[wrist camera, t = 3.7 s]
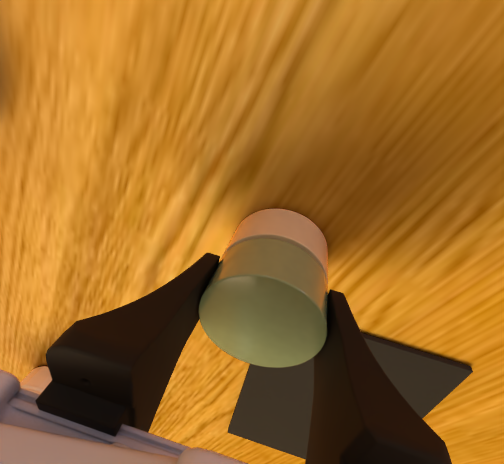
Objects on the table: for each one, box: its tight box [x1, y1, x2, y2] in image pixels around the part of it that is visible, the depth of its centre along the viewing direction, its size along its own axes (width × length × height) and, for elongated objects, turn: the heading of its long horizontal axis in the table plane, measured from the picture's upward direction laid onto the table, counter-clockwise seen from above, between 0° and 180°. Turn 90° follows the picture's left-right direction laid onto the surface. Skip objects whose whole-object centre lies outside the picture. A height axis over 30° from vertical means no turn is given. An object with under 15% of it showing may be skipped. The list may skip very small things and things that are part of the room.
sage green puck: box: [199, 238, 328, 368], centre depth 14 cm, size 5×5×3 cm
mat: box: [228, 333, 473, 459], centre depth 24 cm, size 13×18×1 cm
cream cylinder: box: [222, 209, 328, 285], centre depth 16 cm, size 5×5×3 cm
